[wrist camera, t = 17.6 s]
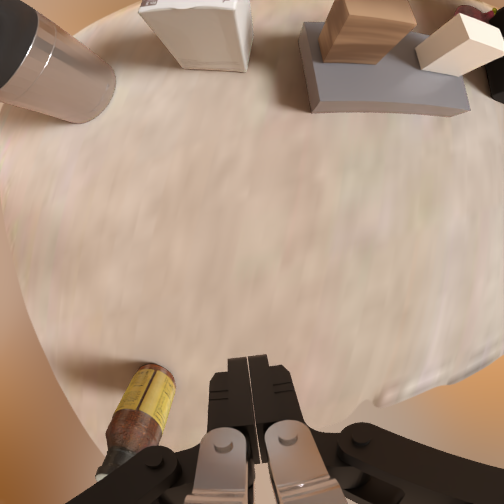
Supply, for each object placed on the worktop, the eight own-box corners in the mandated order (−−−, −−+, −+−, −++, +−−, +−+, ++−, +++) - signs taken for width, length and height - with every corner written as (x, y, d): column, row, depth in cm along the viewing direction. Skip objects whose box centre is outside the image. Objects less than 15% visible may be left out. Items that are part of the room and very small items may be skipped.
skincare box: (254, 36, 30) (252, -40, 15) (246, 76, 31) (240, 8, 16) (187, 32, 30) (155, -37, 15) (177, 71, 31) (134, 10, 16)
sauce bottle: (135, 387, 39) (81, 484, 20) (139, 355, 38) (75, 455, 19) (176, 401, 40) (139, 508, 20) (183, 370, 38) (142, 483, 19)
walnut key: (375, 64, 25) (417, 24, 16) (323, 62, 26) (349, 14, 16) (369, 42, 25) (406, -3, 15) (317, 39, 25) (340, -13, 15)
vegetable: (474, 54, 28) (512, 35, 18) (444, 35, 28) (480, 10, 18) (473, 29, 27) (507, 8, 17) (444, 10, 27) (475, -16, 17)
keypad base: (449, 117, 31) (470, 110, 26) (311, 113, 32) (320, 101, 27) (433, 52, 29) (451, 40, 24) (298, 41, 30) (303, 22, 25)
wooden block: (458, 76, 25) (508, 53, 15) (421, 69, 25) (469, 38, 15) (452, 55, 24) (499, 28, 14) (414, 48, 24) (459, 12, 15)
